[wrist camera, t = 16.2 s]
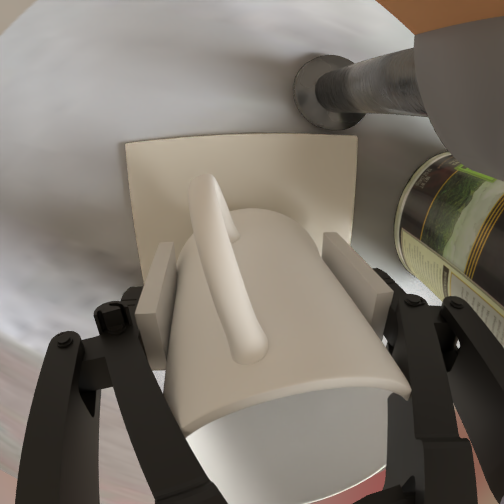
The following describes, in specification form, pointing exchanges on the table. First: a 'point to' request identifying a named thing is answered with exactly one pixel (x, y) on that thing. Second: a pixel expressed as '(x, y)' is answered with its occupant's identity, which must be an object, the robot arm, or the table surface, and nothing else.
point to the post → (357, 89)
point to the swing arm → (460, 75)
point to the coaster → (242, 182)
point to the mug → (272, 360)
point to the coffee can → (455, 235)
